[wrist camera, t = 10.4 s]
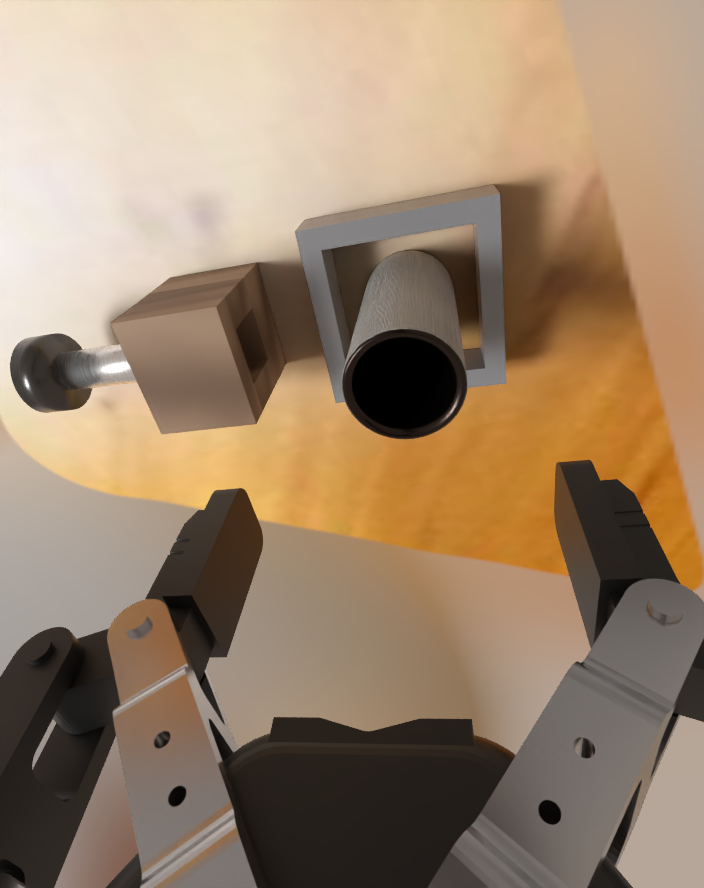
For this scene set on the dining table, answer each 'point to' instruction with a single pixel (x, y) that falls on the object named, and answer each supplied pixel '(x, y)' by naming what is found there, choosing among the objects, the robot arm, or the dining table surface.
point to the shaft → (64, 371)
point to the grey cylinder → (406, 350)
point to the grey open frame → (401, 221)
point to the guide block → (204, 349)
